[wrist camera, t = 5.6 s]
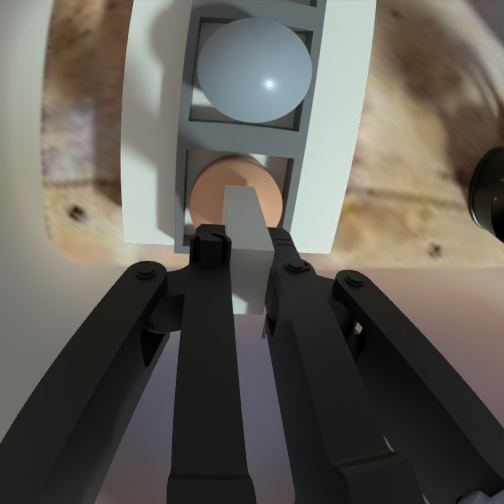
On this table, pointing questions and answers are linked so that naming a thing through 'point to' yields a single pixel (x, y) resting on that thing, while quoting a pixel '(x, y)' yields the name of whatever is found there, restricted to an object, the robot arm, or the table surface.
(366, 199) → the table surface
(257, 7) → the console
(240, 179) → the button terracotta
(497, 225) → the french press
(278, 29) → the button slate
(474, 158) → the table surface
